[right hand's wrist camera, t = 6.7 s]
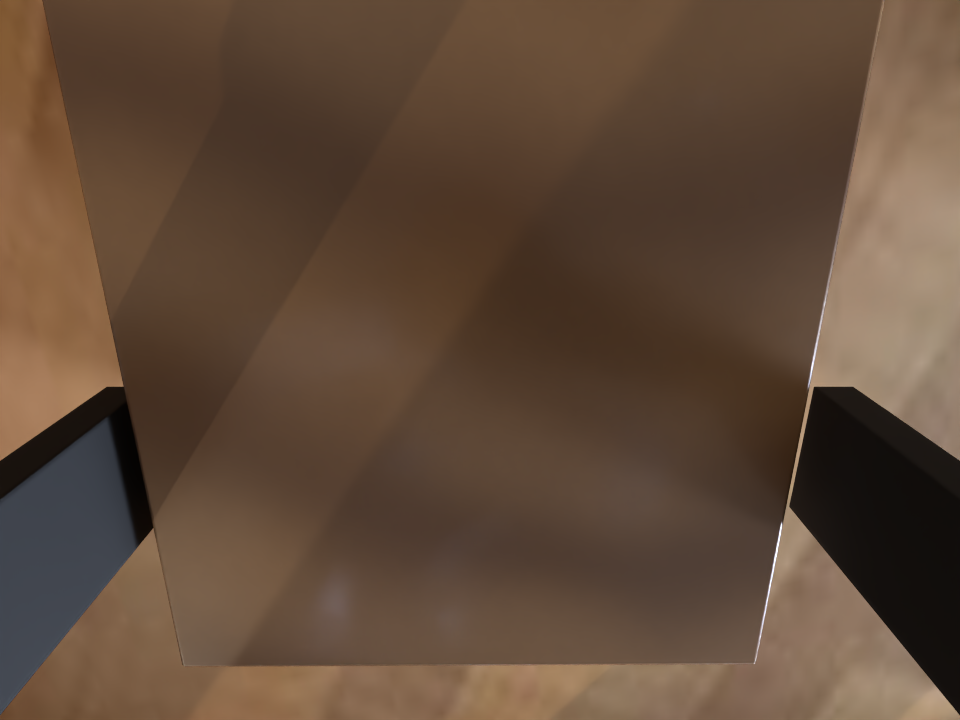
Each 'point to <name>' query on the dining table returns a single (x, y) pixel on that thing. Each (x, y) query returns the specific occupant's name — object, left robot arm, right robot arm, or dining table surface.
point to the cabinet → (465, 311)
